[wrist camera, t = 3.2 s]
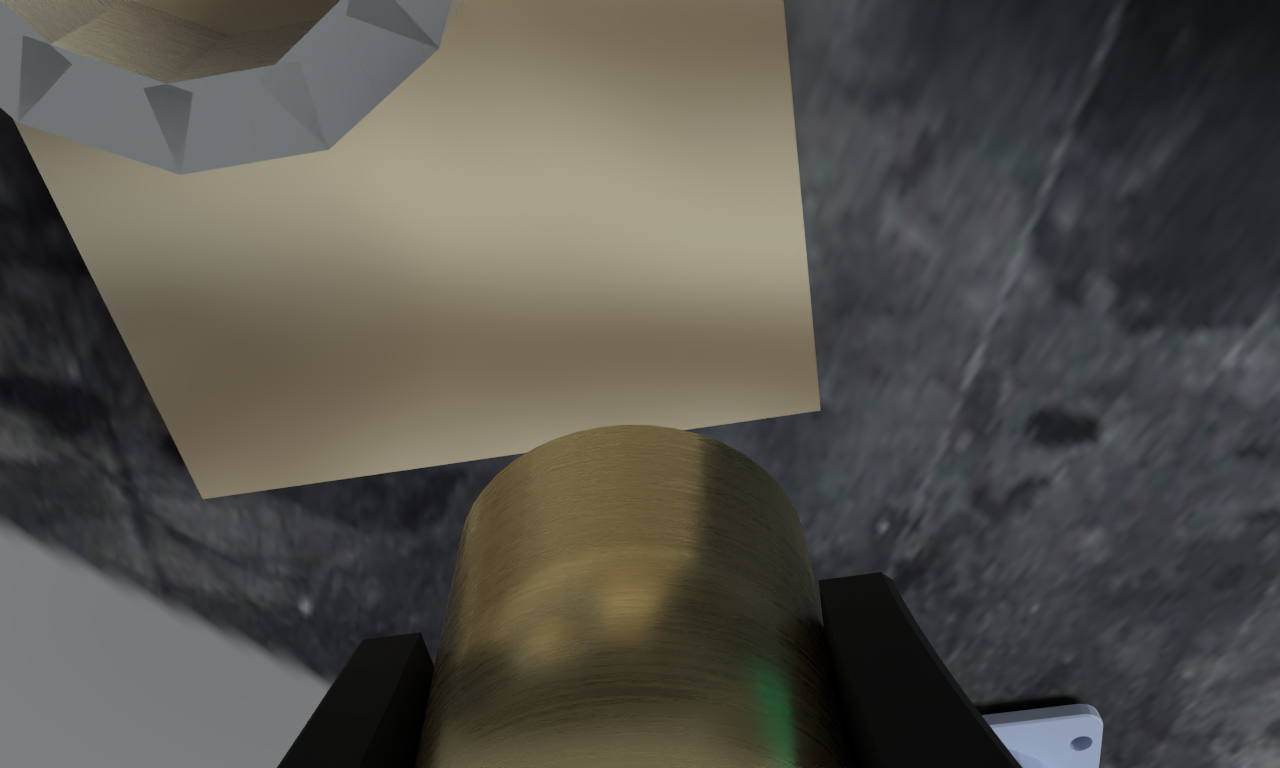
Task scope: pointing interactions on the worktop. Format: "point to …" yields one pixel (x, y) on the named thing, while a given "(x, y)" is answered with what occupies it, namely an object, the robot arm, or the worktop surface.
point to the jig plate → (471, 248)
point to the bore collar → (207, 77)
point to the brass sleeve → (633, 616)
